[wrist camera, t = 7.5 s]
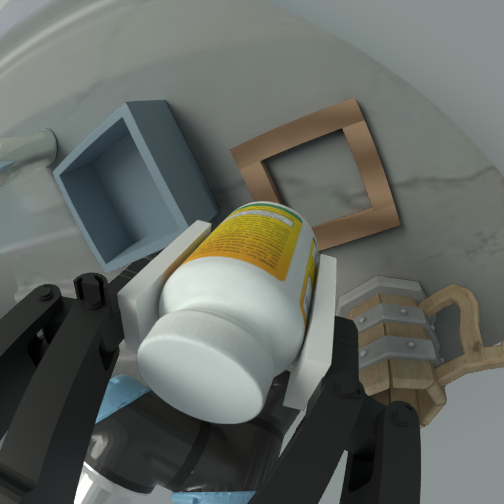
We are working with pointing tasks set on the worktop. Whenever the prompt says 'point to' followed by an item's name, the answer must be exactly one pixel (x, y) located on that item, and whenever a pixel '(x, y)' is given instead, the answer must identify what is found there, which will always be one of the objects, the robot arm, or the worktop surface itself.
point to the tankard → (413, 342)
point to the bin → (134, 184)
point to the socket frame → (365, 157)
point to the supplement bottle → (233, 315)
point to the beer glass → (26, 154)
